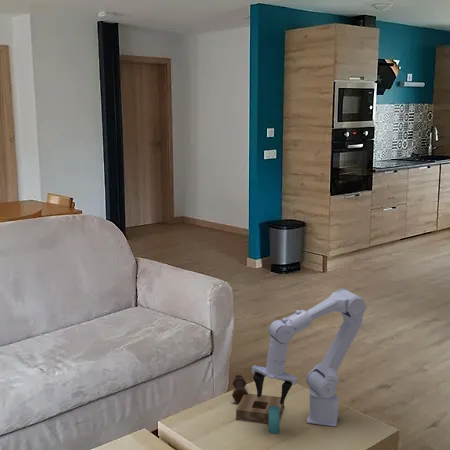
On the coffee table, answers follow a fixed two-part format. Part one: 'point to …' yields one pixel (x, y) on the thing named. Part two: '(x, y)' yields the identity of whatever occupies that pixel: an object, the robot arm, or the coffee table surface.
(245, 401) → the bore block
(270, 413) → the pin
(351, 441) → the coffee table surface
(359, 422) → the coffee table surface
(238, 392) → the bolt
